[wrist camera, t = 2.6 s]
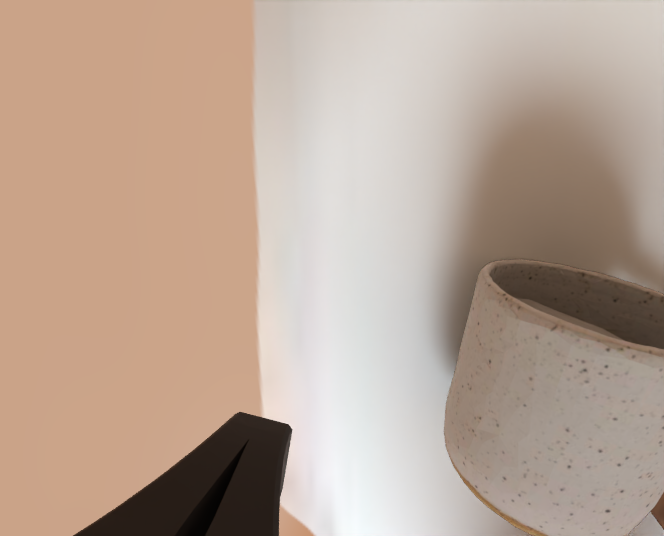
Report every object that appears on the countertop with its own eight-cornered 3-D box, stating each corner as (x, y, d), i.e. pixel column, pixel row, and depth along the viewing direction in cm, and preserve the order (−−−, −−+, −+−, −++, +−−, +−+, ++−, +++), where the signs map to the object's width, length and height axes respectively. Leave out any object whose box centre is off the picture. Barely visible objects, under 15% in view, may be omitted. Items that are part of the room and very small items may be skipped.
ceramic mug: (427, 403, 19) (451, 553, 12) (462, 248, 17) (518, 315, 10) (651, 446, 18) (828, 640, 11) (722, 285, 16) (1010, 395, 8)
